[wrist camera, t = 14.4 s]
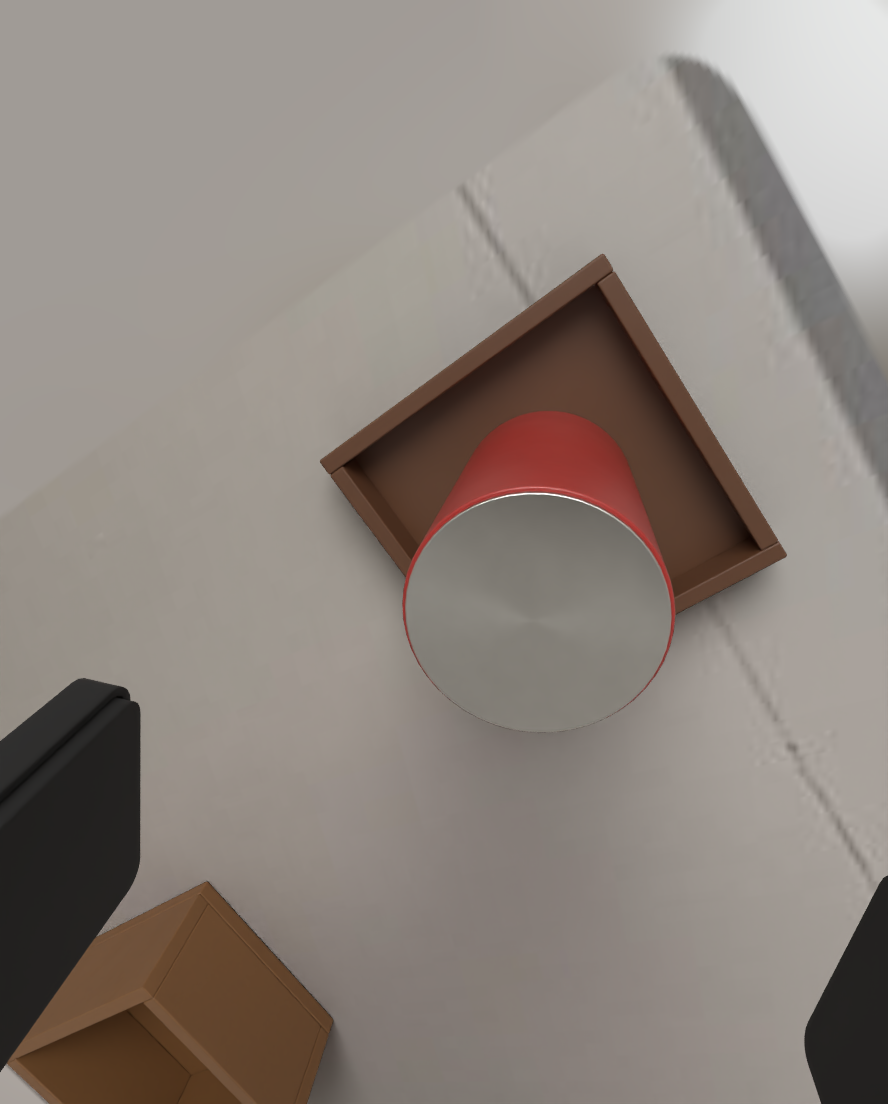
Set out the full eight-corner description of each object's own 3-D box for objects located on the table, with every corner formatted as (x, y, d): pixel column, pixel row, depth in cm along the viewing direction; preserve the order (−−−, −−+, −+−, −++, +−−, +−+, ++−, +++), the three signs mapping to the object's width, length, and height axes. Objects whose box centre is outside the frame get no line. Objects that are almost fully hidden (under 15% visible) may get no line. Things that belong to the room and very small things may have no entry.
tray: (336, 448, 26) (318, 461, 24) (600, 255, 22) (603, 252, 21) (505, 677, 28) (501, 706, 26) (770, 535, 25) (788, 556, 23)
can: (429, 472, 25) (348, 579, 16) (573, 374, 23) (578, 430, 14) (522, 603, 26) (498, 775, 17) (667, 520, 24) (729, 662, 15)
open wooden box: (75, 947, 38) (-5, 1054, 33) (207, 880, 35) (141, 987, 30) (198, 1071, 40) (141, 1191, 35) (334, 1019, 37) (294, 1143, 32)
